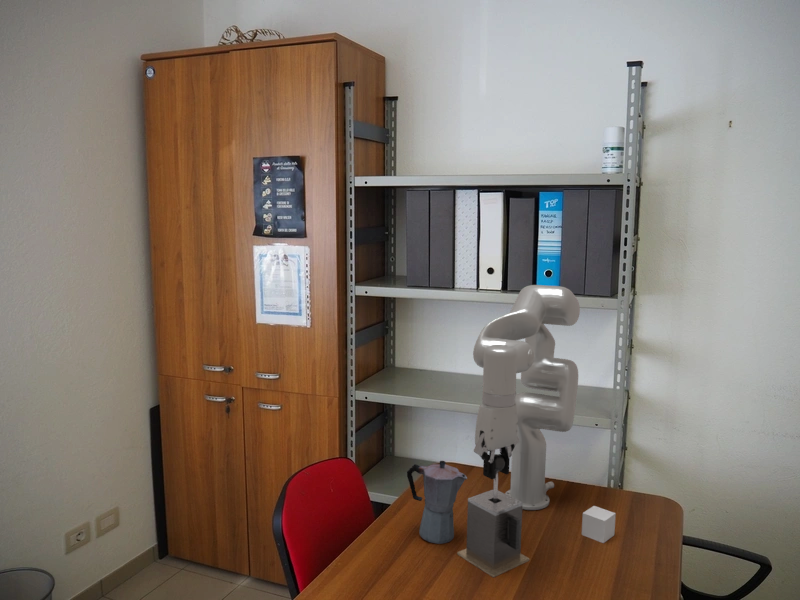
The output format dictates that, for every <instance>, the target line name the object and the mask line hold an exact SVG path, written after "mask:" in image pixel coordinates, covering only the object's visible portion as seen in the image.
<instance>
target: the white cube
mask: <svg viewBox="0 0 800 600" xmlns="http://www.w3.org/2000/svg"><path fill="white" fill-rule="evenodd" d="M616 514H617V513H616V512H614V511H610V510H607V509H606V508H605V509H604V508H602V507H599V506H596V505H593V506H591V507H589V508H588V509H587V510H585V511H583V512H582V520H581V521H582V522H581V535H582V536H584V537H587V538H589V539H592V540H594V541H596V542H598V543H602V544H605V543H606V542H607V541H609V540H610V539H611V538H612V537H614V536H615V531H616V529H615V528H616V516H617V515H616Z"/></svg>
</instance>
